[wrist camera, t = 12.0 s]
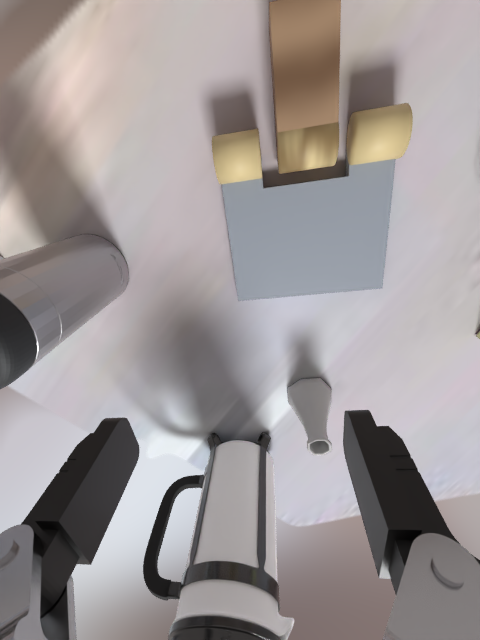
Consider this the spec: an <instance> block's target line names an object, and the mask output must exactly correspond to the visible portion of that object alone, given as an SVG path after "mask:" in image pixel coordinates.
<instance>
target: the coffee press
mask: <svg viewBox="0 0 480 640" xmlns="http://www.w3.org/2000/svg"><path fill="white" fill-rule="evenodd" d="M270 439H271V437H270V436H269V435H267V434H266V433H264V432H263V433H262V434H261V435H260V437H259V439H258V441H257V442H256V443H252V442H249V441H243V440H234V441H228V442H225V443H222V442H221V441H220V439H219V437H218V435H217V434H216V433H213V434H212V435H210V436H209V437H208V443H209V446H210V450H211V452H210V456H209V460H208V464H207V466H206V468H205V472H204V475H195V476H187V477H183V478H181V479H178V480H177V481H176V482H174V483H173V484H172V485H171V486H170V487H169V489H168V490H167V492H166V493H165V495H164V497H163V500H162V502H161V505H160V508H159V511H158V514H157V517H156V520H155V524H154V526H153V529H152V533H151V536H150V539H149V542H148V546H147V549H146V553H145V558H144V565H143V574H144V579H145V583H146V585H147V587H148V589H149V590H150V592H151V593H152V594H153V595H154V596H156V597H158V598H160V599H163V600H168V599H179V604H178V609H177V613H176V618H175V620H174V622H173V624H172V626H171V627H170V631H169V635H168V640H287V639H288V636H289V634H290V632H291V629H292V627H293V624H294V619H293V618H287V617H282V616H280V615H279V613H278V612H279V610H280V597H279V596H280V595H279V594H280V593H279V585H278V583H277V553H276V514H275V479H274V463H273V460H272V458H271V456H270V455H269V453H268V452H267V447H268V445H269V442H270ZM214 442H215V443H214ZM215 444H216V446H217V447H216V448H215ZM187 488H202V492H201V498H200V502H199V507H198V512H197V516H196V521H195V526H194V531H193V536H192V541H191V546H190V550H189V555H188V560H187V565H186V570H185V572H184V573H183V576H182V581H181V582H171V580H167V579H164V578H161V577H160V576H159V574H158V569H157V560H158V556H159V552H160V548H161V545H162V541H163V538H164V534H165V531H166V527H167V524H168V520H169V517H170V513H171V509H172V506H173V503H174V501H175V498H176V497H177V495H178V494H179V493H180V492H181V491H183V490H184V489H187Z"/></svg>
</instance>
